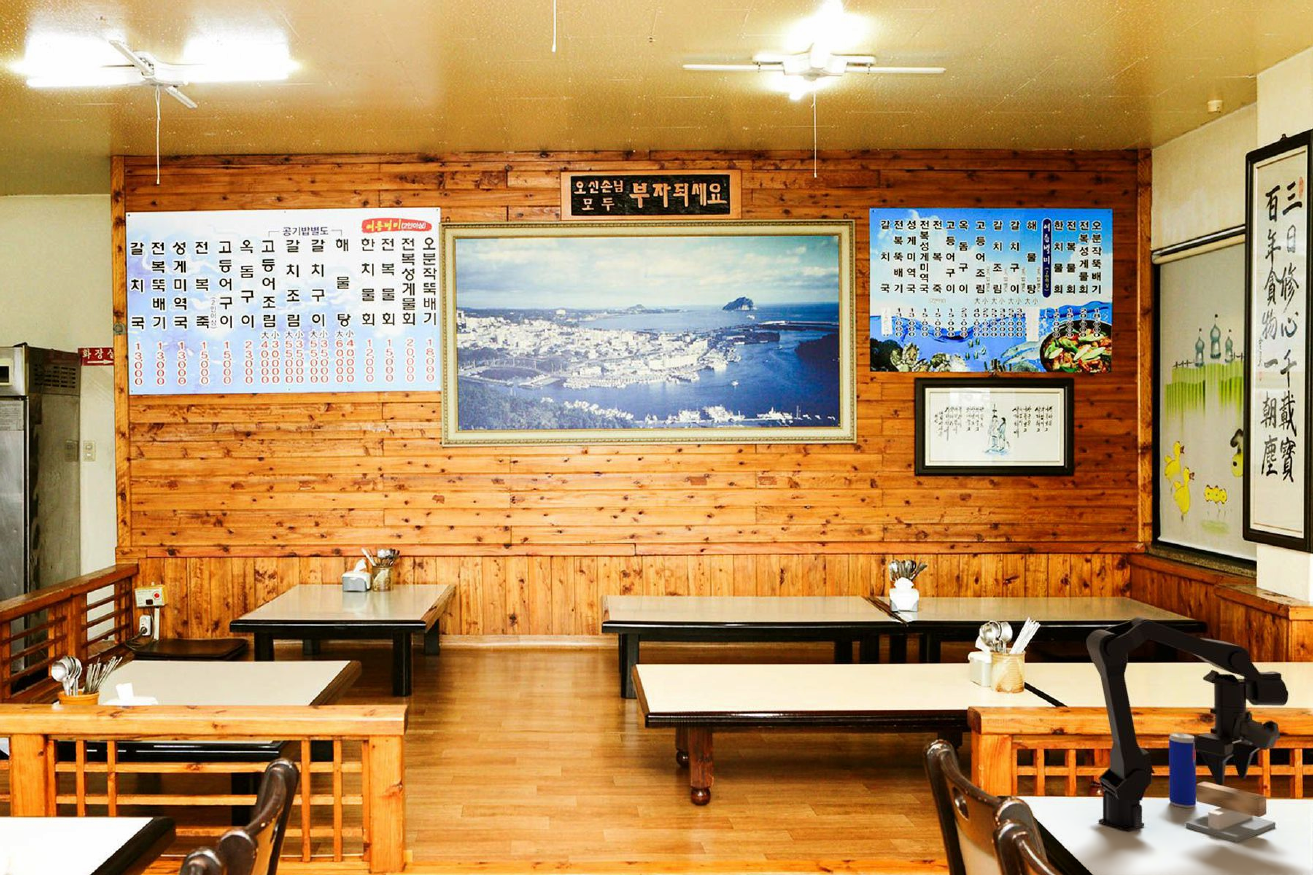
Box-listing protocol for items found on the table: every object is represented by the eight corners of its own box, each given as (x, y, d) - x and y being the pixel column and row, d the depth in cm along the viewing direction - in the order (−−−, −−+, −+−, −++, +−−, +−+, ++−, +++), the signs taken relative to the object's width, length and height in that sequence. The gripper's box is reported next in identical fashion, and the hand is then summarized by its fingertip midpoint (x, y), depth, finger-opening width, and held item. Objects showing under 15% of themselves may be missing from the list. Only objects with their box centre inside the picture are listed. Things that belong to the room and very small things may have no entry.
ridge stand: (1185, 827, 204) (1185, 807, 204) (1225, 813, 213) (1224, 794, 213) (1236, 842, 196) (1236, 821, 196) (1275, 826, 205) (1275, 807, 205)
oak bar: (1196, 801, 208) (1196, 784, 208) (1204, 798, 210) (1204, 781, 211) (1259, 817, 199) (1258, 799, 199) (1266, 813, 201) (1266, 796, 201)
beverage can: (1199, 809, 216) (1198, 739, 216) (1173, 807, 217) (1173, 737, 217) (1191, 801, 221) (1191, 733, 221) (1166, 799, 222) (1165, 731, 222)
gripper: (1249, 718, 194) (1250, 799, 193) (1293, 706, 204) (1295, 784, 204) (1191, 707, 203) (1192, 785, 202) (1236, 696, 213) (1237, 770, 213)
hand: (1231, 781), depth 205 cm, fingers open, 9 cm apart
